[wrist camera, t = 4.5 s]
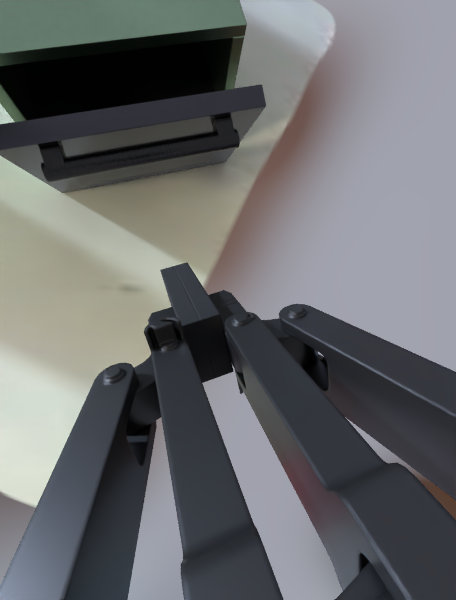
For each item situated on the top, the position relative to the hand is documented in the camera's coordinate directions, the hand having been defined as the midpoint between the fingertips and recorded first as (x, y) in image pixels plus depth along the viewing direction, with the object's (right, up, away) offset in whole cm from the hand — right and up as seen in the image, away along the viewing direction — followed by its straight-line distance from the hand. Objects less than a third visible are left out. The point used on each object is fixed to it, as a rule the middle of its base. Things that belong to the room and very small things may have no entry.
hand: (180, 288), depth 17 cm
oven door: (-7, +14, +21) cm, 26 cm away
